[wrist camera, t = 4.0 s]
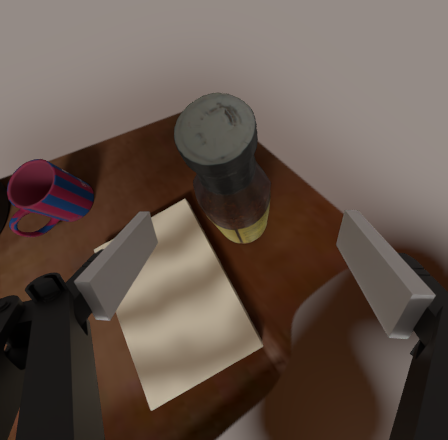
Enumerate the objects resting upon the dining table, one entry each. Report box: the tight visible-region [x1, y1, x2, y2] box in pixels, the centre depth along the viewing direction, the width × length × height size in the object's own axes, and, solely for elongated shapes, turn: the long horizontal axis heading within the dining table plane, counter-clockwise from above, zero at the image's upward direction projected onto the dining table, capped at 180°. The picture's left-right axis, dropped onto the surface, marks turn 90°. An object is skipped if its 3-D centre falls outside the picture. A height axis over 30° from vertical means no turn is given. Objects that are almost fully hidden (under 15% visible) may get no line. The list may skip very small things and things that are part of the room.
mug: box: [7, 159, 94, 237], centre depth 30 cm, size 7×10×7 cm
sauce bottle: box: [174, 93, 271, 244], centre depth 19 cm, size 6×6×20 cm
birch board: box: [94, 199, 263, 411], centre depth 27 cm, size 20×14×2 cm
